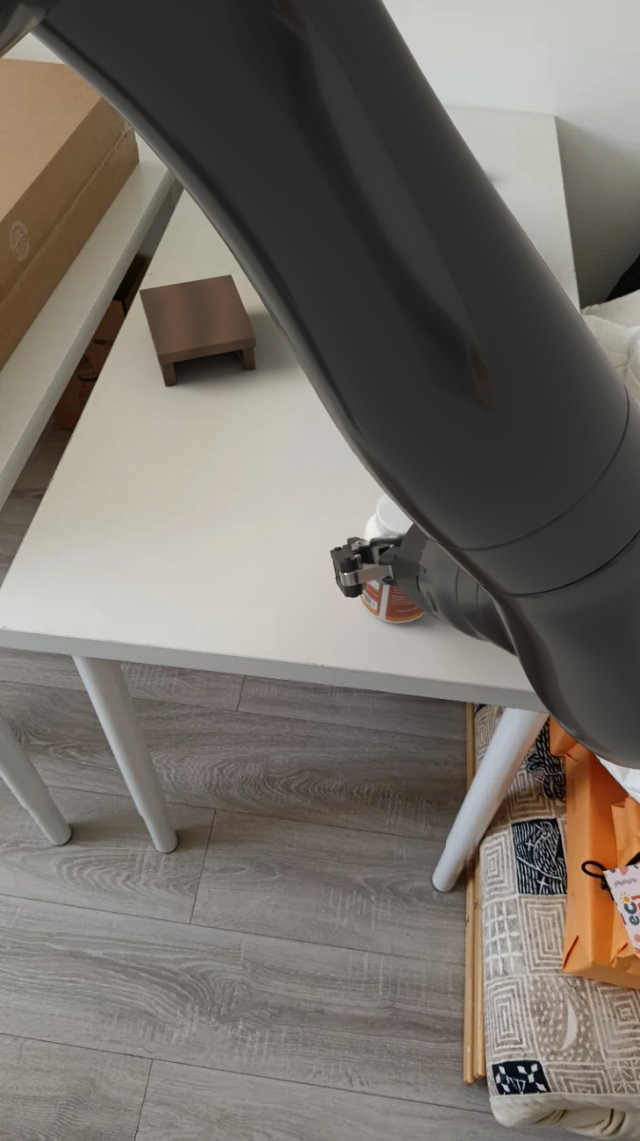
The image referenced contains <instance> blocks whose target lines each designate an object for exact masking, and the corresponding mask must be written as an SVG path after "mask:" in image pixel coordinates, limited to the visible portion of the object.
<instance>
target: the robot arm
mask: <svg viewBox="0 0 640 1141" xmlns="http://www.w3.org/2000/svg"><path fill="white" fill-rule="evenodd" d="M28 34H30V35H32V36H33V37H34V38H35V39H37V41H38V42H40V43H41V44H42V45H43V46H45V48H47V49H48V50H49V51H50V52H52V53H53V54H54V55H55V56H56V57H57V58H58V59H59V60H60V61H62V62H63V63H64V64H65V65H66V66H67V67H68V68H69V69H71V70H72V71H73V72H74V73H75V74H76V75H77V76H79V78H81V79H82V80H83V81H84V82H85V83H87V85H89V86H90V87H91V88H92V89H93V90H94V91H95V92H96V93H97V94H98V95H99V96H100V97H101V98H102V99H103V100H104V101H105V102H106V103H107V104H108V105H109V106H110V107H111V108H113V110H115V112H116V113H117V114H118V115H120V117H121V118H122V119H123V120H124V121H125V122H126V123H127V124H128V125H129V127H131V128H132V129H133V131H134V132H136V134H137V135H138V136H139V137H140V138H141V139H142V140H143V141H144V143H145V144H146V145H147V146H148V147H149V148H150V149H151V151H152V152H153V153H154V154H155V155H156V157H158V159H159V160H160V161H161V162H162V163H163V164H164V165H165V166H166V168H167V169H168V171H169V172H170V173H171V174H172V175H173V176H174V177H175V179H176V180H177V181H178V183H179V184H180V185H181V186H182V188H183V189H184V190H185V191H186V192H187V194H188V195H189V196H190V197H191V199H192V200H193V201H194V203H195V204H196V205H197V207H198V208H199V209H200V211H201V212H202V214H203V215H204V216H205V218H206V219H207V220H208V222H209V224H211V226H212V227H213V229H214V231H216V233H217V234H218V236H219V237H220V238H221V240H222V241H223V243H224V244H225V245H226V247H227V248H228V250H229V251H230V253H231V255H232V256H233V258H234V260H235V261H236V262H237V264H238V266H239V267H240V269H241V270H242V272H243V274H244V275H245V277H246V278H247V280H248V281H249V284H251V286H252V288H253V289H254V291H255V293H256V294H257V295H258V297H259V299H260V301H261V302H262V304H263V306H264V307H265V309H266V310H267V312H268V314H269V315H270V318H271V319H272V321H273V322H274V324H275V326H276V327H277V329H278V331H279V333H280V334H281V336H282V338H283V339H284V341H285V344H287V346H288V348H289V350H290V351H291V353H292V354H293V356H294V358H295V360H296V361H297V363H298V365H299V366H300V368H301V370H302V371H303V374H304V375H305V376H306V378H307V380H308V381H309V383H310V384H311V387H312V388H313V390H314V392H315V394H316V396H317V397H318V400H320V402H321V404H322V406H323V407H324V409H325V410H326V412H327V414H328V416H329V417H330V419H331V420H332V422H333V424H334V425H335V427H336V428H337V430H338V432H339V433H340V435H341V437H343V439H344V440H345V442H346V444H347V445H348V447H349V448H350V449H351V451H352V452H353V454H354V455H355V457H356V458H357V459H358V461H359V462H360V464H361V465H362V467H363V468H364V469H365V470H366V472H367V473H368V474H369V475H370V477H371V478H372V479H373V481H375V482H376V484H377V485H378V486H379V488H380V490H382V491H383V492H384V494H385V493H386V494H387V495H388V496H389V497H390V499H391V500H392V501H393V502H394V503H395V504H396V505H397V506H398V507H399V508H400V509H401V510H402V511H403V513H404V514H405V515H406V516H407V517H408V518H409V519H410V520H411V521H412V522H413V524H412V525H411V527H410V528H409V530H408V531H407V532H404V533H402V534H383V535H380V536H377V537H375V538H372V539H371V540H370V541H366V540H364V539H363V538H361V537H359V536H353V537H348V538H347V539H346V544H342V546H336V547H334V548H333V549H331V550H329V553H330V558H331V561H332V566H333V570H334V576H335V577H334V579H335V584H336V585H337V587H338V588H339V590H340V591H341V593H342V594H343V596H344V597H345V598H351V599H356V598H358V597H360V595H361V594H363V590H365V589H367V585H366V582H370V581H374V580H377V582H378V583H379V584H381V585H390V586H400V587H401V588H402V589H403V591H404V592H405V593H406V595H407V596H408V597H409V599H410V600H411V601H412V602H413V603H414V604H415V605H416V606H417V607H418V608H419V609H421V610H422V611H424V612H425V613H424V614H427V615H429V616H431V617H432V618H435V619H436V620H438V621H440V622H442V623H443V624H445V625H447V626H449V627H451V628H453V629H455V630H456V631H458V632H460V633H462V634H464V635H466V636H468V637H471V638H473V639H475V640H479V641H481V642H482V641H483V642H487V643H490V644H492V645H494V646H495V647H498V648H499V649H501V650H503V651H505V652H508V653H509V655H512V656H514V657H515V658H518V661H519V664H520V665H521V668H522V670H523V672H524V674H525V677H526V678H527V681H528V682H529V684H530V686H531V687H532V689H533V691H534V693H535V695H536V696H537V697H538V699H539V701H540V702H541V704H542V705H543V707H544V708H545V709H546V711H547V712H548V713H549V715H550V716H551V717H552V718H553V720H554V721H555V722H556V723H557V724H558V725H559V726H560V727H561V729H562V730H563V731H565V733H566V734H568V736H569V737H571V738H572V740H574V741H575V742H576V743H578V744H579V745H580V746H581V747H583V748H584V749H585V750H586V751H589V752H590V753H591V754H594V755H595V756H597V757H598V758H600V759H601V760H604V761H607V763H611V764H612V765H615V766H619V767H621V768H626V769H631V770H638V771H640V405H639V404H638V402H637V400H636V399H635V397H634V396H633V394H632V393H631V390H630V389H629V387H628V386H627V384H626V383H625V381H624V379H623V378H622V377H621V375H620V373H619V372H618V370H617V369H616V367H615V366H614V364H613V362H612V361H611V359H610V358H609V356H608V355H607V354H606V352H605V350H604V348H603V347H602V346H601V344H600V343H599V341H598V340H597V338H596V337H595V335H594V334H593V332H592V330H591V329H590V328H589V326H588V325H587V323H586V322H585V320H584V318H583V317H582V315H581V314H580V313H579V311H578V309H577V308H576V307H575V305H574V303H573V302H572V300H571V298H569V295H567V293H566V292H565V290H564V288H563V287H562V285H561V284H560V282H559V281H558V280H557V278H556V277H555V275H554V273H553V272H552V271H551V269H550V267H549V266H548V265H547V263H546V262H545V260H544V259H543V257H542V256H541V254H540V253H539V252H538V250H537V248H536V247H535V246H534V244H533V242H532V241H531V239H530V238H529V237H528V235H527V234H526V232H525V230H524V228H523V227H522V226H521V224H520V223H519V221H518V220H517V218H516V217H515V215H514V214H513V213H512V211H511V209H510V208H509V206H508V205H507V203H506V202H505V200H504V199H503V197H502V196H501V194H500V192H499V191H498V190H497V188H496V186H495V185H494V184H493V182H492V181H491V179H490V177H489V176H488V174H487V173H486V171H485V169H484V168H483V167H482V165H481V164H480V162H479V161H478V159H477V158H476V156H475V154H474V152H473V151H472V149H471V148H470V146H469V145H468V143H467V142H466V141H465V138H464V137H463V136H462V134H461V133H460V131H459V130H458V128H457V127H456V125H455V123H454V121H453V120H452V118H451V117H450V114H449V113H448V112H447V110H446V109H445V107H444V105H443V104H442V102H441V100H440V98H439V97H438V95H437V94H436V92H435V91H434V89H433V87H432V86H431V84H430V82H429V81H428V79H427V77H426V75H425V74H424V72H423V70H422V69H421V67H420V66H419V63H418V62H417V60H416V58H415V56H414V55H413V53H412V51H411V50H410V48H409V45H408V44H407V42H406V40H405V39H404V37H403V35H402V33H401V32H400V30H399V28H398V26H397V24H396V23H395V21H394V19H393V18H392V15H391V14H390V12H389V10H388V8H387V7H386V5H385V3H384V1H383V0H0V60H1V59H2V58H4V57H5V56H6V55H7V54H8V53H9V52H10V51H11V50H12V49H14V47H15V46H16V45H18V43H20V42H21V41H23V39H24V38H25V37H26V36H27V35H28ZM390 545H394V546H392V547H391V548H390ZM370 552H371V554H372V557H373V563H374V564H372V560H371V555H370Z"/></svg>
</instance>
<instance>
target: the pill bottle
mask: <svg viewBox="0 0 640 1141" xmlns="http://www.w3.org/2000/svg"><path fill="white" fill-rule="evenodd" d="M412 524H413V522H412V521H411V520H410V519H409V518H408V517H407V516H406V515H405V514H404V513H403V511H402V510H401V509H400V508H399V507H398V506H397V505H396V504H395V503H394V502H393V501H392V500H391V499H390V497H389V496H388V495H387V494H386V493H385V492H384V494H383V495H382V496H381V497H380V498H379V499H378V502H377V505H376V510H375V512H374V513H373V514H372V515H371V516H370V518H369V519H368V520H367V522H366V525H365V527H364V531H363V538H362V539H364V540H366V541H370V540H371V539H372V538H375V537H377V536H380V535H383V534H402V533H404V532H407V531H408V530H409V528H410V527H411V525H412ZM392 546H394V545H390V548H391V547H392ZM370 555H371V560H372V564H374V563H373V557H372V554H371V552H370ZM366 585H367V589H365V590H363V594H361V595H359V598H360V602H361V604H362V605H363V607H364V609H365V611H367V612H368V613H369V614H370V615H371V616H373V617H374V618H376V619H378V620H380V621H381V622H386V623H390V624H405V623H410V622H412V621H415V620H417V619H419V618H420V617H422V616H423V615H424V614H426V613H425V612H424V611H422V610H421V609H419V608H418V607H417V606H416V605H415V604H414V603H413V602H412V601H411V600H410V599H409V597H408V596H407V595H406V593H405V592H404V591H403V589H402V588H401V587H400V586H390V585H381V584H379V583H378V582H377V580H374V581H370V582H366Z"/></svg>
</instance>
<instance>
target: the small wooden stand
mask: <svg viewBox="0 0 640 1141" xmlns="http://www.w3.org/2000/svg"><path fill="white" fill-rule="evenodd" d="M138 292H139V297H140V301H141V304H142V308H143V312H144V315H145V319H146V321H147V326H148V330H149V334H150V337H151V340H152V343H153V344H152V345H153V348H154V351H155V354H156V358H157V361H158V365H159V369H160V372H161V375H162V380H163V383H164V386H165V387H171V386H175V385H177V384H178V383H177V382H178V381H177V378H176V371H175V365H174V363H176V362H182V361H187V360H192V359H197V358H202V357H207V356H213V355H219V354H224V353H229V352H234V351H236V352H237V355H238V357H239V360H240V363H241V366H242V368H243V371H244V372H247V371H248V372H249V371H254V370H256V355H255V354H256V353H255V348H256V347H258V343H257V342H258V341H257V335H256V333H255V330H254V328H253V325H252V323H251V320H250V318H249V315H248V313H247V310H246V308H245V306H244V303H243V301H242V298H241V294H240V293H239V291H238V288H237V286H236V282H235V281H234V278H233V276H232V274H226V275H220V276H213V277H208V278H203V279H196V280H191V281H189V280H188V281H184V282H179V283H172V284H167V285H160V286H155V287H149V288H143V289H138Z"/></svg>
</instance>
